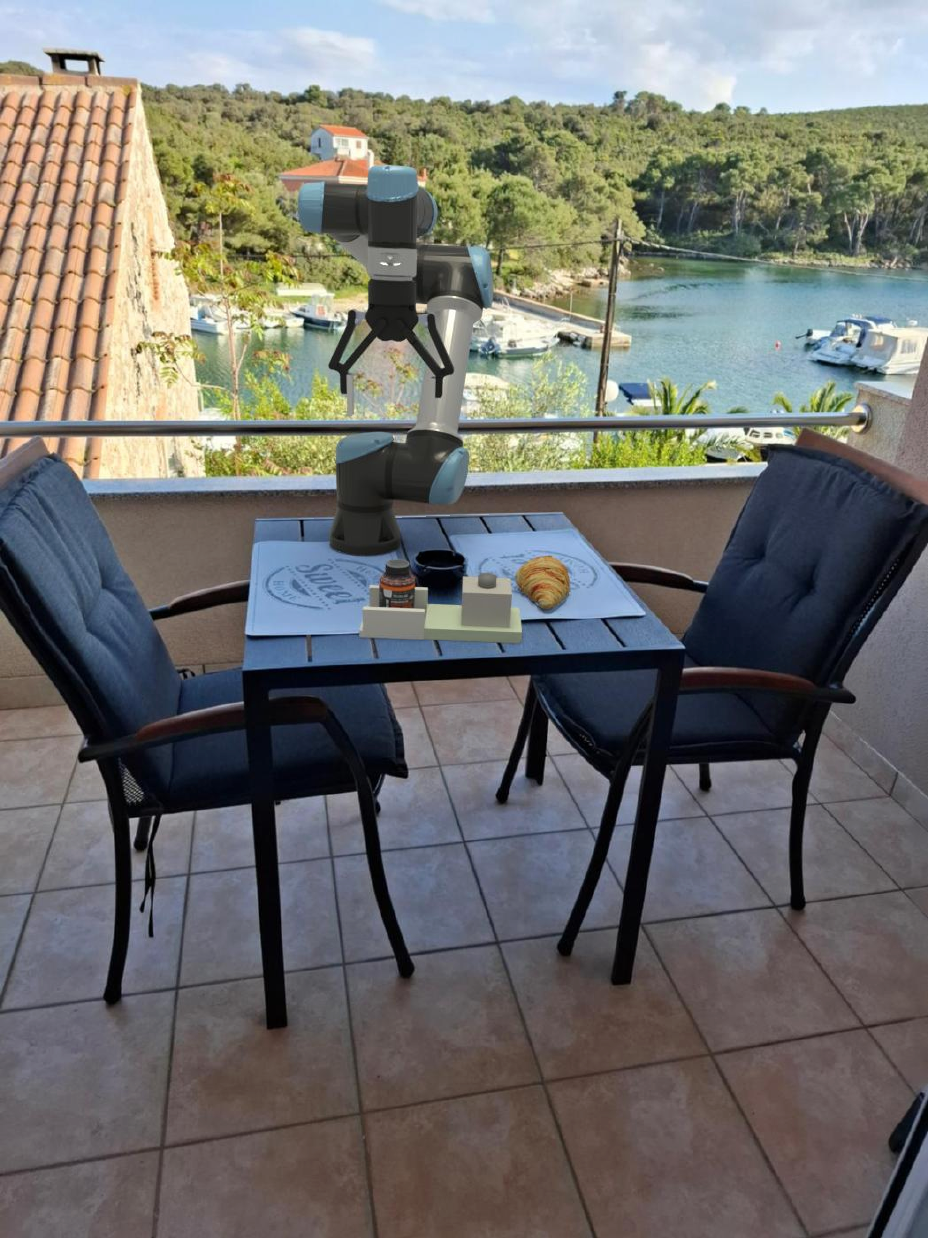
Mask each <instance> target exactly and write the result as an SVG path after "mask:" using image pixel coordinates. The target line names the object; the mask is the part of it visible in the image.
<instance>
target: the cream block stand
mask: <svg viewBox="0 0 928 1238" xmlns="http://www.w3.org/2000/svg"><path fill="white" fill-rule="evenodd" d="M368 591H369V592H368V593H369V594H368V595H369V598H368V599H369V604H367V605H366V606H363V607H362V620H361V623H360V626H359V627H360V628H359V629H358V631H359V632H358V633H359V638H368V639H371V638H373V639H395V640H416V641H418V640H420V641H421V640H422V641H424V640H430V641H454V642H455V641H457V642H477V643H478V642H479V643H481V642H482V643H501V644H502V643H503V644H505V643H506V644H508V643H509V644H522V638H523V631H522V630H523V628H522V620H521V612H520V607H515V606H512V599H513V593H512V583H511V578H508V577H507V578H505V577H497V575H496V574H495V573H491V572H481V573H479V574H478V576H462V593H461V595H462V597H461V598H462V599H461V605H460V604H438V603H436V604H435V603H428V600H429V599H428V595H429V594H428V593H429V592H428V591H429V588H428V587H423V586H415V605H414V609H411V608H387V607H379V585H375V584H370V585H369V588H368Z"/></svg>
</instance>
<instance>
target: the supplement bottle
mask: <svg viewBox="0 0 928 1238" xmlns="http://www.w3.org/2000/svg"><path fill="white" fill-rule="evenodd" d="M410 564H411V563H410V562H409V561H408V560H405V559H400V558H398V559H397V558H396V559H395V558H393V559H389V560H387V561H386V562H385V572H383V573H382V574H381V575H380V577H379V581H378V583H379V607H387V608H411V609H414V605H415V587H416V578H415V575H414V574H413V573H412V572H411V568H410V567H411V566H410Z"/></svg>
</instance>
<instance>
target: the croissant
mask: <svg viewBox="0 0 928 1238" xmlns="http://www.w3.org/2000/svg"><path fill="white" fill-rule="evenodd" d="M569 575H570V574H569V571H568V569H567V567H566V566H565V564H563V562H562V561H560V560H559V559H558V558H556V557H553V556H552V555H543V556H537V557H534V558H531V559H530V560H528V561H526V562H525V563H524V564H523V565H522V566H521V567H519V569H518V570H517V571H516V572H515V575H514V576H515V577H514V578H515V583H516V585H517V587H519V590H520V591H521V592H522V593H523V594H524V595H525V596H527V597H528V598H529V599H530V600H531V601H532V602H533V603H535V604H536V605H538V607H540V609H542V610H550V609H553V608H555V607H557V606H559V605H560V604H561V602H563V601H564V600H565V599H566V597H567V596H569V594H570V590H571V589H570V588H571V584H570V581H571V580H570V576H569Z"/></svg>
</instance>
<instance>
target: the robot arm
mask: <svg viewBox="0 0 928 1238" xmlns="http://www.w3.org/2000/svg"><path fill="white" fill-rule="evenodd" d="M418 180H419V179H418V171H417V170H416V169H415V168H413V167H411V166H404V165H390V164H381V165H378V164H377V165H373V166H371V167H369V169H368V172H367V183H345V182H325V181H321V182H307V183H304V184H302V186H301V187H300V189H299V192H298V194H297V195H298V196H297V215H298V220H299V222H300V225H301V227H302V229H303V231H305V232H307V233H312V234H318V235H321V234H323V235H324V234H326V235H329V236H330V237H331V238H332V239H334V240H335V241H336V242H337V243H338V244H339V245H340V246H341V247H342V248H344V250H346V251H347V252H348V254H350V255H351V256H352V257H353V258H354V259H355V260H357V262H359V263H360V264H361V265H362V266H363V267H365V270H366V271H365V272H366V274H367V275H368V277H369V280H368V281H367V301H368V302H367V304H368V305H367V309H366V311H360V310H357V309H355V308H352V309H350V310H349V311H347V320H346V326H345V328H344V330H343V332H342V335H341V337H340V339H339V341H338V343H337V345H336V348H335V349H334V352H333V354H332V356H331V358H330V360H329V362H328V368H329V369H330V370H331V371H334V372H335V371H336V372H337V373H338V374H339V381H340V382H339V385H340V386H339V387H340V389H339V390H340V393H341V395H346V405H347V406H346V407H347V408H346V410H347V411H346V413H347V414H346V415H347V417H352V416H353V415H354V413H355V394H354V393H355V392H354V389H355V385H354V383H355V380H354V378H355V377H354V372H349V371H350V369H351V368H352V367H353V366H354V365H355V363H356V362H357V361H358V360H359V358H360V357H361V356H362V355H363V354H364V353H365V351H366V350H367V349H368V348H369V347H370V345H371V344H372V343H373V342H374V340H375V339H376V338H377V339H378V340H380V341H381V342H389V341H393V342H395V343H396V342H397V343H398V342H399V343H401V342H404V341H405V340H406V341H407V342H408V343H409V344H410V345H411V347H413V349H414V351H415V352H416V353H417V354H418V355H419V357H420V358H421V359H422V361H423V362H424V370H423V375H422V376H423V377H422V384H421V390H420V395H419V403H418V409H417V415H416V423H415V426H414V427H412V428H411V429H410V430H408V431H407V433H406V439H405V442H395V438H394V435H393V434H392V433H390V432H385V431H372V432H371V431H370V432H362V433H361V432H360V433H355V434H351V435H347V436H344V437H343V438H341V439H340V440H339V441H338V442H337V444H336V447H335V460H334V464H335V481H336V482H335V483H336V488H335V489H336V510H335V511H336V512H335V513H334V514H335V515H334V516H333V517H334V518H333V521H332V524H331V528H330V530H329V535H328V537H329V538H328V539H329V547H330V548H332V549H333V550H335V551H337V552H339V551H340V552H339V553H342V552H343V553H342V554H345V553H346V554H345V555H352V556H364V557H365V556H367V557H368V556H377V555H378V556H379V555H385V554H388V553H391V552H395V551H397V550H398V549H399V548H400V547H401V545H402V539H401V538H402V534H401V530H400V526H399V524H398V521H397V518H396V515H395V512H394V505H393V504H394V501H399V502H410V503H420V504H429V505H431V506H436V505H442V506H443V505H444V506H445V505H446V506H451V505H453V504H455V503H456V502H458V500H459V498H460V496H461V495H462V493H463V491H464V488H465V485H466V481H467V477H468V473H469V465H470V453H469V450H468V449H467V448H465V447H464V440H463V439H462V437H461V436H460V435H459V433H458V430H459V424H460V417H461V409H462V404H463V403H462V402H463V396H464V390H465V385H466V384H465V382H466V376H467V371H468V361H469V356H470V351H471V350H470V349H471V343H472V336H473V330H474V325H475V324H476V323H478V322H479V321H481V319H482V318H483V311H484V309H486V310H488V309H490V308H492V306H493V303H494V302H493V301H494V278H493V277H494V276H493V275H494V274H493V265H492V259H491V255H490V253H489V251H488V250H487V249H485V248H484V247H481V246H472V245H471V246H470V245H469V244H467V245H466V246H464V245H447V244H445V245H444V244H429V243H426V244H425V243H417V239H419V238H421V237H424V236H426V235H427V234H429V233H430V232H432V230H433V229H434V227H435V226H436V223H437V220H438V215H439V213H438V204H437V203H436V199H435V198H434V197H433V196H432V194H431V193H430V192H429V191H427V190H425V188H424V187H421V186H419V181H418ZM417 304H418V305H426V310H427V312H428V313H423V314H418V311H417ZM363 320H365V322H366V323H367V324H368V326H369V328H370V331H369V333H368V334H366V336H365V337H364V339H363V340H362V341H361V342H360V343H359V344H358V346H357V347H356V348H355V349H354V351H353V352H352V353H351V355H349V357H348V358H347V359H346V360H345V362H344V363H342V362H341V359H342V358H343V355H344V353H345V351H346V349H347V347H348V345H349V342H350V341H351V339H352V336H353V334H354V332H355V330H356V326H359V325H361V324H362V321H363ZM418 323H421V324H422V326H423V328H424V329H427V330H428V333H429V338H428V344H427V348H426V347H425V346H424V344H423V342H421V340H420V339H419V337H418V336H417V334H416V333H415V331H414V329H415V327H416V326H417V325H418Z"/></svg>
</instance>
